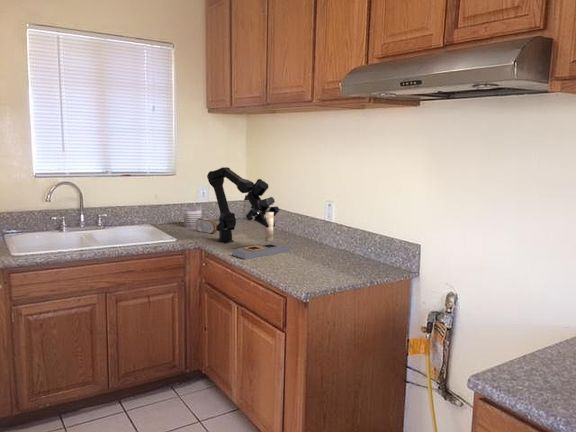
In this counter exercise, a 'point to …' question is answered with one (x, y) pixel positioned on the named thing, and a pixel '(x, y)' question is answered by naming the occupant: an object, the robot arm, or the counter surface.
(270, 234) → the peg
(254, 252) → the silver slotted plate
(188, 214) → the can
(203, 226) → the tin
